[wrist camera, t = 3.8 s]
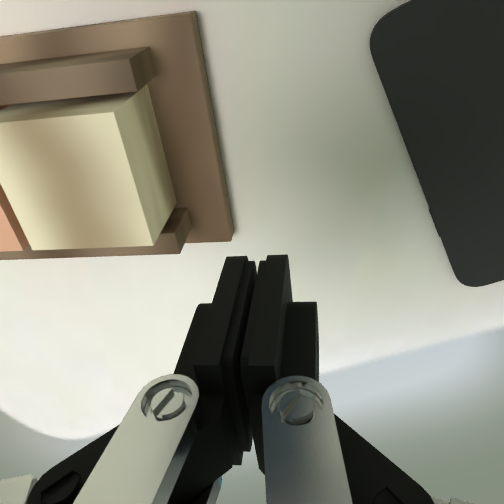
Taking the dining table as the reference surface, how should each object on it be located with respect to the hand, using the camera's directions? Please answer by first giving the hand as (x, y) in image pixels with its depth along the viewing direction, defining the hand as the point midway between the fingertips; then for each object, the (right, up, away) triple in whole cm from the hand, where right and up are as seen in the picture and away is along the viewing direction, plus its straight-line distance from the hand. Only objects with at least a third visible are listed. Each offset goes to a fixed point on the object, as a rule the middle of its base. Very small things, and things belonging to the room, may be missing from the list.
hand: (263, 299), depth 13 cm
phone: (+11, +7, +9) cm, 15 cm away
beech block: (-8, +6, +10) cm, 14 cm away
